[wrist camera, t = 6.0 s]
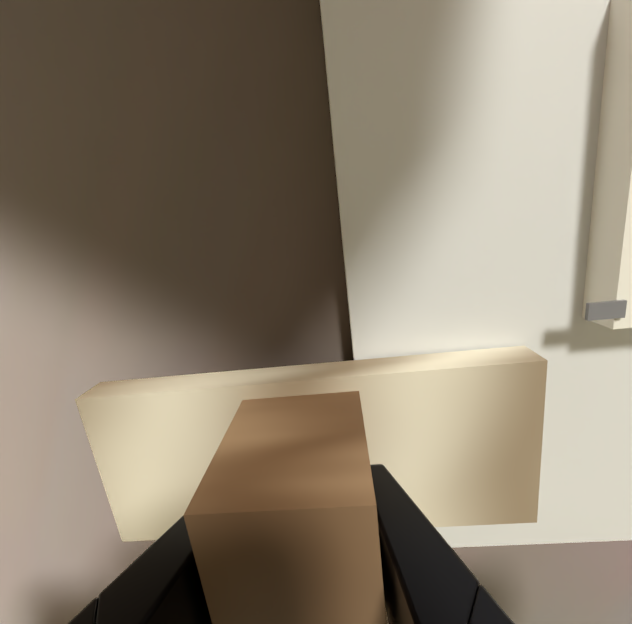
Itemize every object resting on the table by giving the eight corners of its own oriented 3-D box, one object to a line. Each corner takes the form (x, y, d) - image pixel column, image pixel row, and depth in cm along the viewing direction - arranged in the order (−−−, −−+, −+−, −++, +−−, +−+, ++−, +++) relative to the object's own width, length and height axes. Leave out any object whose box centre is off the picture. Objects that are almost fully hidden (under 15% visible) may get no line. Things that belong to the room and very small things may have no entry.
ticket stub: (524, 345, 9) (708, 464, 4) (517, 493, 10) (657, 700, 6) (100, 382, 10) (-86, 509, 5) (140, 513, 11) (14, 704, 7)
